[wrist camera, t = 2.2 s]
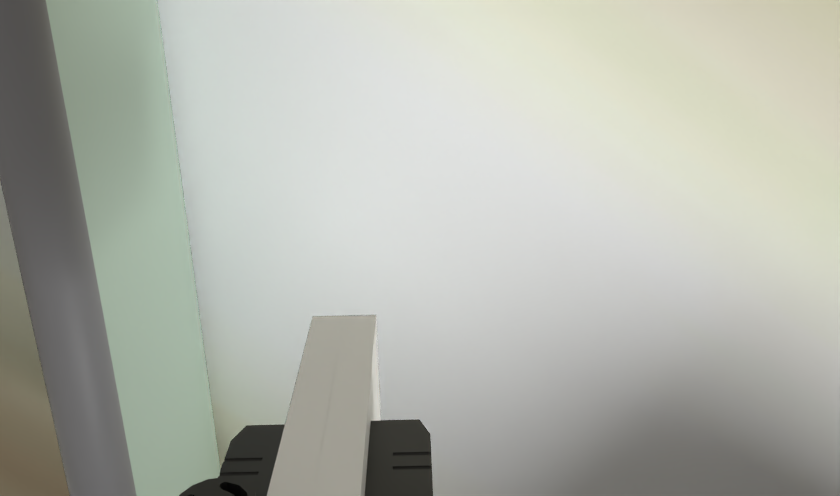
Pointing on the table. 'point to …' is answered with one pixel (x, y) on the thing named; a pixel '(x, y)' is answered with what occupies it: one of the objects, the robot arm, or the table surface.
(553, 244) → the table surface
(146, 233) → the pale green flat panel
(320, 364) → the robot arm
